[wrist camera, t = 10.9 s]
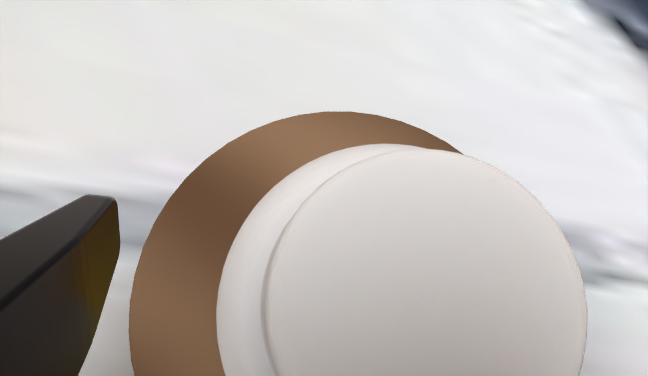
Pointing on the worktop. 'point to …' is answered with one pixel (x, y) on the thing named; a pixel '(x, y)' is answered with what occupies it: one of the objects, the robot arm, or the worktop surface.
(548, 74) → the worktop surface
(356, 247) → the supplement bottle
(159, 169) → the worktop surface
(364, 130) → the walnut platform
